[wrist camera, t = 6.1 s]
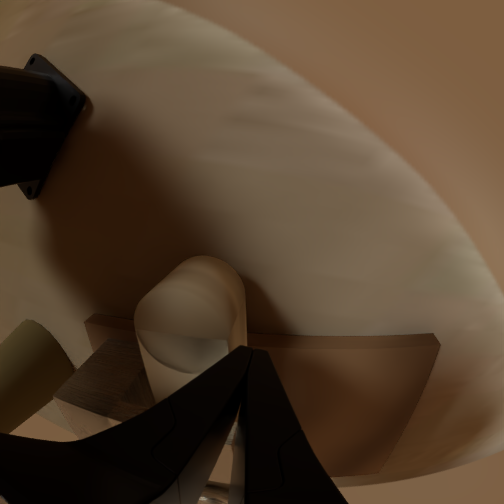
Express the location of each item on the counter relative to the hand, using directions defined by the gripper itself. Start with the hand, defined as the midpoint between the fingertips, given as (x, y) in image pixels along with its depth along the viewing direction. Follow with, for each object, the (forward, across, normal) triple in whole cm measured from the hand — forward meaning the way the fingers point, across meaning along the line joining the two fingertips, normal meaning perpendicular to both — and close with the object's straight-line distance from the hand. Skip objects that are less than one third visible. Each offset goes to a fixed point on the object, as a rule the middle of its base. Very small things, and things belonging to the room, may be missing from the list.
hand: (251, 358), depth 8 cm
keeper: (+4, +3, +7) cm, 9 cm away
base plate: (+4, -1, +8) cm, 9 cm away
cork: (+4, +15, +9) cm, 18 cm away
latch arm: (+3, +1, +5) cm, 6 cm away
